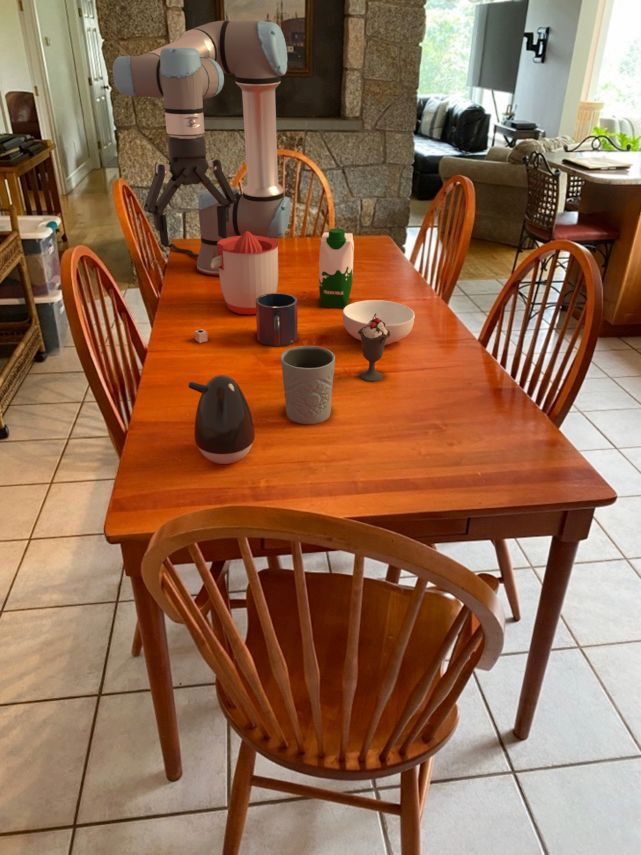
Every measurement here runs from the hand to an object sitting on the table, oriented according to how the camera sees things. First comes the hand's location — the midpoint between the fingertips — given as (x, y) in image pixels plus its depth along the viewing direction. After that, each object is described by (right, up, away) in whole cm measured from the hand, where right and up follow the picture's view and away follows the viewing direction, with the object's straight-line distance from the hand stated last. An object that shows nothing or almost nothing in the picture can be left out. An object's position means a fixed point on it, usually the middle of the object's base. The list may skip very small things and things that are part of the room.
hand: (194, 241), depth 145 cm
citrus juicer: (+8, -9, +30) cm, 33 cm away
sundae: (+38, -30, -2) cm, 49 cm away
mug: (+17, -20, +12) cm, 29 cm away
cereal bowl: (+41, -20, +14) cm, 48 cm away
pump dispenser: (+11, -46, -29) cm, 55 cm away
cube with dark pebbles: (-1, -20, +12) cm, 24 cm away
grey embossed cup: (+25, -38, -16) cm, 48 cm away
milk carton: (+31, -7, +34) cm, 47 cm away
